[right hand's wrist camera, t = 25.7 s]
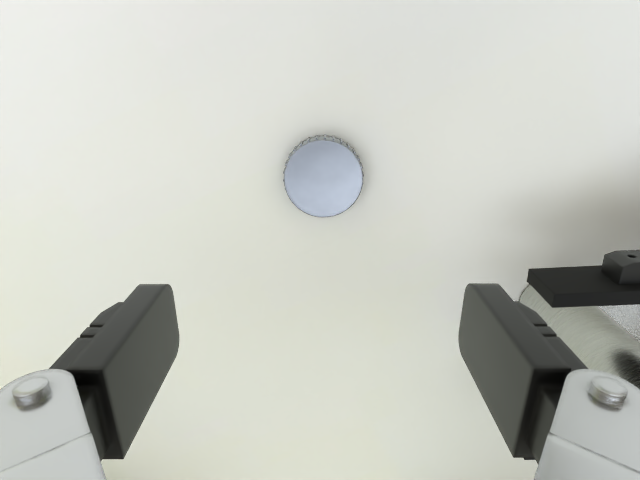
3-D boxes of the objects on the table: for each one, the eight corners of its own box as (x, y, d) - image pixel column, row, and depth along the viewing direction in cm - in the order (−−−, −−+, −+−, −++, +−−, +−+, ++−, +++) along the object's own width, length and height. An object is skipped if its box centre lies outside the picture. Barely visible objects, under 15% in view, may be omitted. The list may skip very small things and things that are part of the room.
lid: (303, 220, 27) (301, 229, 26) (272, 151, 25) (269, 157, 24) (372, 194, 26) (375, 202, 25) (345, 121, 25) (347, 125, 23)
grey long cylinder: (559, 265, 28) (915, 562, 11) (586, 304, 29) (946, 628, 12) (507, 297, 29) (761, 616, 12) (535, 334, 30) (803, 672, 13)
